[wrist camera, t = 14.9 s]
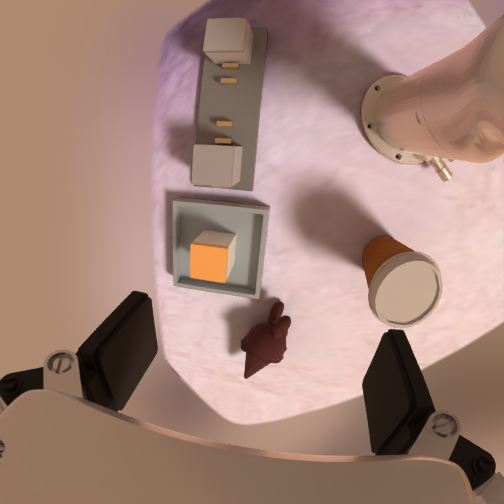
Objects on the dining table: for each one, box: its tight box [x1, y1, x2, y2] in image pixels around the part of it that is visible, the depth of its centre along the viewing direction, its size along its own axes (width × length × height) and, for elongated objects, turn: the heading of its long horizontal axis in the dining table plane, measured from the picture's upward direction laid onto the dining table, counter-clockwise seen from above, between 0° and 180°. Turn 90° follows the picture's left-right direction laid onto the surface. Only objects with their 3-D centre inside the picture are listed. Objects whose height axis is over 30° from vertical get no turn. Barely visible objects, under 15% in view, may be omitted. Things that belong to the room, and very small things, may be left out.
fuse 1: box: [203, 18, 254, 64], centre depth 28 cm, size 5×5×6 cm
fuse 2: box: [191, 144, 243, 187], centre depth 33 cm, size 5×5×6 cm
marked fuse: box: [190, 230, 236, 283], centre depth 38 cm, size 5×5×6 cm
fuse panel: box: [194, 28, 268, 191], centre depth 33 cm, size 8×23×3 cm, turn 175°
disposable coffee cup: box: [362, 236, 442, 328], centre depth 33 cm, size 10×10×12 cm
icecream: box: [241, 302, 291, 379], centre depth 43 cm, size 7×7×15 cm
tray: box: [172, 198, 270, 299], centre depth 40 cm, size 13×13×2 cm
